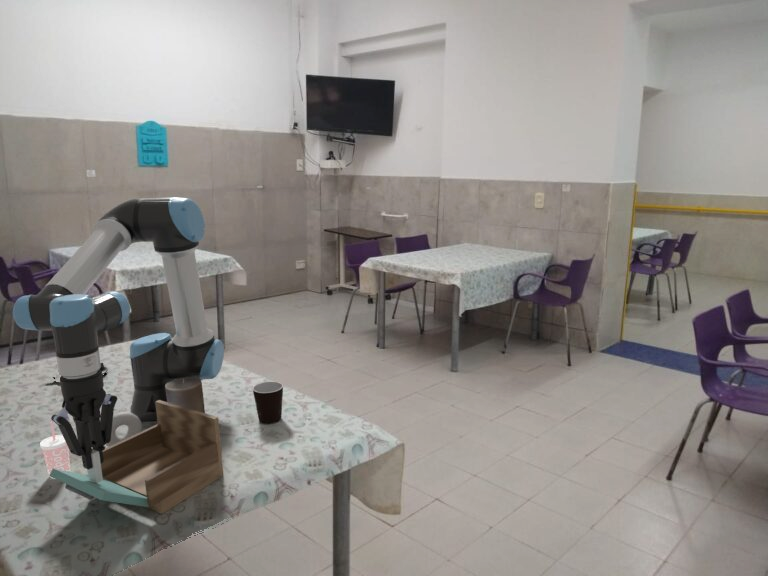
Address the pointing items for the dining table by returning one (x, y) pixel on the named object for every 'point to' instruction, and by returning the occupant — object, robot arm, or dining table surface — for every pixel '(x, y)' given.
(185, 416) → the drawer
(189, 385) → the pillar candle
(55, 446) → the beverage cup
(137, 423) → the donut
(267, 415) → the coffee mug
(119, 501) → the panel
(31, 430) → the dining table surface
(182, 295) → the robot arm
